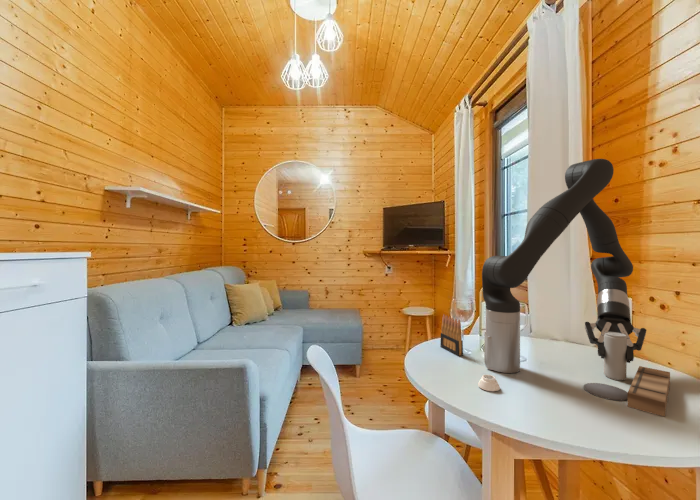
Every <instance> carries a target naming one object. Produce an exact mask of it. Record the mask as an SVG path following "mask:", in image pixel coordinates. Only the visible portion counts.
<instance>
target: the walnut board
mask: <svg viewBox="0 0 700 500" xmlns="http://www.w3.org/2000/svg"><path fill="white" fill-rule="evenodd" d="M670 385H671V371H665V370H661V369H655V368H651V367H647V366H641V365H639V366H638V368H637V371H636V372H635V375H634V377H633V379H632V382H631V385H629V389H628V391H627V392H628V400H627V402H626V403H627V407H628V408H632V409H636V410H639V411H643V412H645V413H650V414H654V415H657V416H662V417H666V412H667V407H668V406H667V405H668V399H669V393H670V387H671V386H670Z"/></svg>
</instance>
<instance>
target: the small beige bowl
mask: <svg viewBox="0 0 700 500" xmlns="http://www.w3.org/2000/svg"><path fill="white" fill-rule="evenodd" d="M477 386H478V388H480V389H482V390H484V391H485V392H486V391H487V392H498V391H500V389H501V388H500V384H499V383H498V381H497V379H496V376H494V375H492V374H482V376H481V378H480V380H479V381H478V383H477Z"/></svg>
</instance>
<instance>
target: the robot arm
mask: <svg viewBox="0 0 700 500" xmlns="http://www.w3.org/2000/svg"><path fill="white" fill-rule="evenodd" d="M613 176H614V166H613V164H612V162H611V161H610V160H608V159H606V158H593V159H589V160H585V161H582V162H576V163H574V164H571V165H570V166H568V167H567V169H566V170H565V173H564V181H565V185H566V188H567V190H565V191H563V192H561V193H560V194H558V195H556V196H554V197H553V198H551V199H550V200H548V201H547V202H545V203H544V204H543V205H542V206H541V207H539V209H538V210H537V211H536V212H535V213H534V214H533V215H532V216H531V218H530V219H528V222H527V225H526V228H525V232H524V237H523V239H522V242H521V243H520V244H519V245H518V246H517V247H516V248H515V249H514V251H512V252H511V253H510V254H508V255H492V256H490V257H488V258H487V259H485V261H484V263H483V265H482V269H481V282H482V286H481V287H482V298H483V300H484V303H485V332H484V346H483V347H484V348H483V349H484V353H483V354H484V355H483V356H484V357H483V358H484V360H483V361H484V365H485V367H486V369H487V370H492V371H495V372H497V373H498V372H499V373H504V374H516V373H519V372H520V371H521V302H520V301H519V300H518V299H517V298H516V297H514V295H513V293H512V291H511V289H515V288H517V287H519V286H521V285H522V284H523V283H524V282H525V281H526V279H528V277H529V275H530V273H532V271H533V269H534V268H535V266H536V265H537V264H538V263H539V261H540V259H541V258H542V256H543V255H544V254H545V253H546V252H547V250H549V249H550V248H551V246H552V245H553V243H555V241H556V240H557V239H558V237H560V236H561V234H562V233H564V231H565V230H566V229H567V228H568V226H569V225H570V224H571V223H572V222H573V220H574V219H575V218H576V217H577V216H578V215H579V214H580V215H581V218H582V220H583V222H584V225H585V228H586V230H587V235H588V238H589V241H590V245H591V248H592V250H593V251H594V252H596V253H600V254H609V255H611V256H605V257H597V258H595V259H593V261H592V262H590V263H591V264H590V269H591V272H592V274H593V276H594V278H595V281H596V283H597V300H596V307H597V310H596V311H597V316H596V317H597V318H596V319H597V320H596V321H595V322H589V321H585V322H584V330H585V332H586V335H587V337H588V341H589V343H590V344H592V345H596V346H597V355H598V357H600V359H603V360H604V335H605V332H616V333H622V334H625V335H626V338H627V352H626V360H627V364H628V363H629V364H630V363H631V362H634V358H635V355H634V354H635V353H634V351H642V349H643V348H642V347H643V344H644V342H645V339H646V335H647V329H646V328H645V327H641V328H638V327H635V326H633V324H632V321H631V308H630V300H629V297H628V285H627V283H626V280H625V279H622V278H627V277H629V276H631V275H632V274H633V272H634V265H633V263H632V261H631V260H630V258H629V257H628V255H627V254H626V253H625V251H624V249H623V248H622V246H621V243H620V241H619V238H618V233H617V229H616V227H615V225H614V222H613V220H612V219H611V217H610V216H609V215H608V214H607V213H605V212H604V210H602V208H600V206H599V205H598V204H597V203H596V201H595V200H594V198H595V197H596V196H598V195H599V194H600V193H601V192H602V191H603V190H604V189H606V187H607V186H608V185H609V184H610V182H611V181H612V178H613ZM595 328H596V329H597V331H599V332H600V335H599V337H596V336H595V334H594V331H595ZM632 333H634V335H635V336H636V337H637V339H636V342H634V343H633V342H632V340H631V337H630V335H631V334H632Z"/></svg>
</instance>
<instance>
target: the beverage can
mask: <svg viewBox="0 0 700 500" xmlns="http://www.w3.org/2000/svg"><path fill="white" fill-rule="evenodd" d="M626 352H627V338H626V335H625V334H622V333H616V332H605V335H604V359H603V374H604V376H605V378H608V379H611V380H613V381H614V380H615V381H625V380H627V371H628V370H627V367H628V366H627V364H628V363H627V360H626Z"/></svg>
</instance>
